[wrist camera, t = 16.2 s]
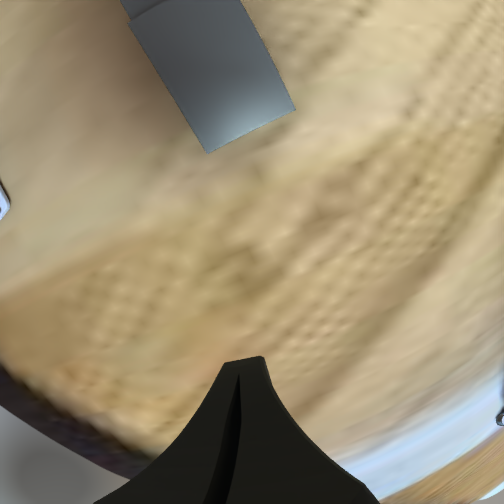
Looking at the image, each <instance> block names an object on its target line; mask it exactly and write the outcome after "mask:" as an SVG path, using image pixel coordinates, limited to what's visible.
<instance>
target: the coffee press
mask: <svg viewBox="0 0 504 504" xmlns="http://www.w3.org/2000/svg"><path fill="white" fill-rule="evenodd" d="M503 416H504V413H500V414H499V415H498V416H497V418H496V423H497V425H500V426H504V424H503V423H502V417H503Z"/></svg>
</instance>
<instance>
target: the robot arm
mask: <svg viewBox="0 0 504 504" xmlns="http://www.w3.org/2000/svg"><path fill="white" fill-rule="evenodd" d="M0 207H1V210H0V220H1V219H2V218H3V216H4V215H5V214H6V212H7V211H8V210H9V207H10V203H9V200H8V198H7V196H6V195H5V193H4V191H3V189H2V187H1V185H0ZM93 504H380V503H379V501H378V500H377V499H376V498H375V496H374V495H373V494H372V493H371V492H370V490H369V489H368V488H367V487H366V485H365V484H364V483H363V482H361V481H360V480H358V479H357V478H355V477H354V476H352V475H351V474H350V473H348V472H347V471H345V470H344V469H343V468H342V467H340V466H339V465H338V464H337V463H335V462H334V461H333V460H332V459H331V458H329V457H328V456H327V455H326V454H325V453H324V452H323V451H322V450H321V449H320V448H319V447H318V446H317V445H316V444H315V443H314V442H313V441H312V440H311V439H310V438H309V437H308V436H307V435H306V434H305V433H304V431H303V430H302V429H301V428H300V427H299V426H298V424H297V423H296V422H295V421H294V419H293V418H292V417H291V415H290V414H289V412H288V411H287V409H286V408H285V406H284V405H283V403H282V402H281V400H280V399H279V397H278V395H277V393H276V391H275V390H274V388H273V386H272V382H271V379H270V376H269V372H268V369H267V366H266V362H265V359H264V357H262V356H256V357H251V358H246V359H241V360H236V361H231V362H225V363H224V364H223V366H222V368H221V370H220V372H219V373H218V375H217V377H216V379H215V381H214V383H213V385H212V386H211V388H210V390H209V392H208V393H207V395H206V397H205V398H204V400H203V402H202V403H201V405H200V406H199V408H198V410H197V411H196V412H195V414H194V415H193V417H192V418H191V420H190V421H189V423H188V424H187V425H186V427H185V428H184V429H183V431H182V432H181V433H180V434H179V436H178V437H177V438H176V439H175V440H174V441H173V442H172V444H171V445H170V446H169V447H168V448H167V449H166V450H165V451H164V452H163V453H162V454H161V455H160V456H159V457H158V458H157V459H156V460H154V461H153V462H152V463H151V464H150V465H149V466H148V467H147V468H146V469H144V470H143V471H142V472H141V473H139V474H138V475H137V476H135V477H134V478H133V479H131V480H130V481H129V482H127V483H126V484H124V485H123V486H121V487H120V488H118V489H117V490H115V491H113V492H112V493H110V494H108V495H106V496H105V497H103V498H101V499H100V500H98V501H96V502H94V503H93Z"/></svg>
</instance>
